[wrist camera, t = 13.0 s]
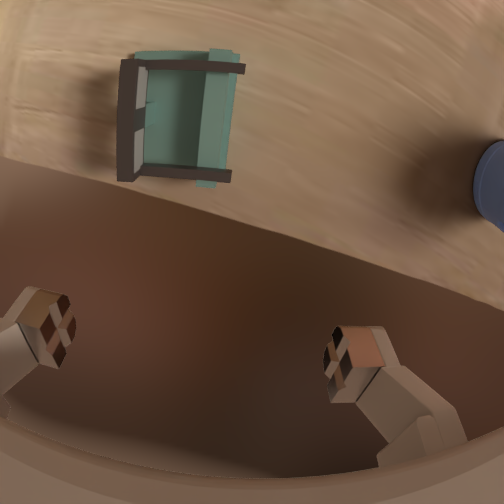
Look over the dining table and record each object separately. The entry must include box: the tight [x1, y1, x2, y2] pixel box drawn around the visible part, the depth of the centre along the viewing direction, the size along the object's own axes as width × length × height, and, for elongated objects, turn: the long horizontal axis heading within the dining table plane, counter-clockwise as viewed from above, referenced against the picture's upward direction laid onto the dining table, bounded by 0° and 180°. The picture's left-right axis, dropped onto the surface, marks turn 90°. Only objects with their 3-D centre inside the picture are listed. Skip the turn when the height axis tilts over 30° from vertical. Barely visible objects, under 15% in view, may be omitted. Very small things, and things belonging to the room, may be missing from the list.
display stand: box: [134, 49, 240, 188], centre depth 34 cm, size 17×14×5 cm
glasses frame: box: [116, 58, 246, 183], centre depth 30 cm, size 14×13×4 cm
